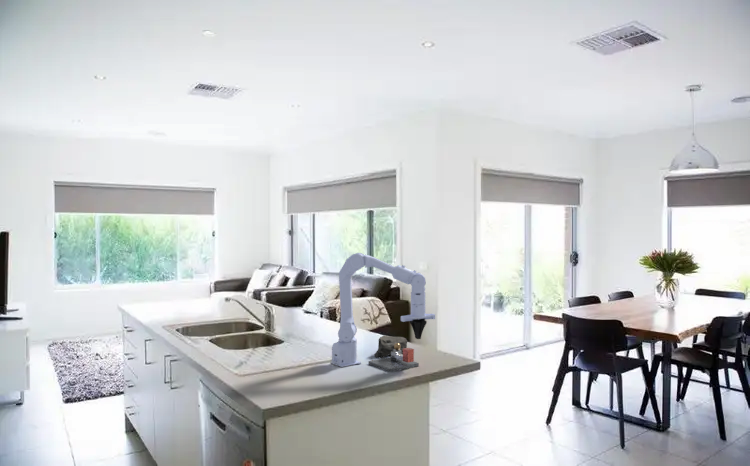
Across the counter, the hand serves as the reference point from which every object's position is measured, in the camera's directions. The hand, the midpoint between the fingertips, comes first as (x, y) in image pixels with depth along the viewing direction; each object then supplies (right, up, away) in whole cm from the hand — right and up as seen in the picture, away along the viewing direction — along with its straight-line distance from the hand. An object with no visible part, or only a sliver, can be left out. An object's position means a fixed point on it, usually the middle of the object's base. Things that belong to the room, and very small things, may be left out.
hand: (418, 338), depth 204 cm
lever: (-7, -9, +1) cm, 11 cm away
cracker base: (-10, -10, 0) cm, 14 cm away
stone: (-10, -11, +18) cm, 24 cm away
